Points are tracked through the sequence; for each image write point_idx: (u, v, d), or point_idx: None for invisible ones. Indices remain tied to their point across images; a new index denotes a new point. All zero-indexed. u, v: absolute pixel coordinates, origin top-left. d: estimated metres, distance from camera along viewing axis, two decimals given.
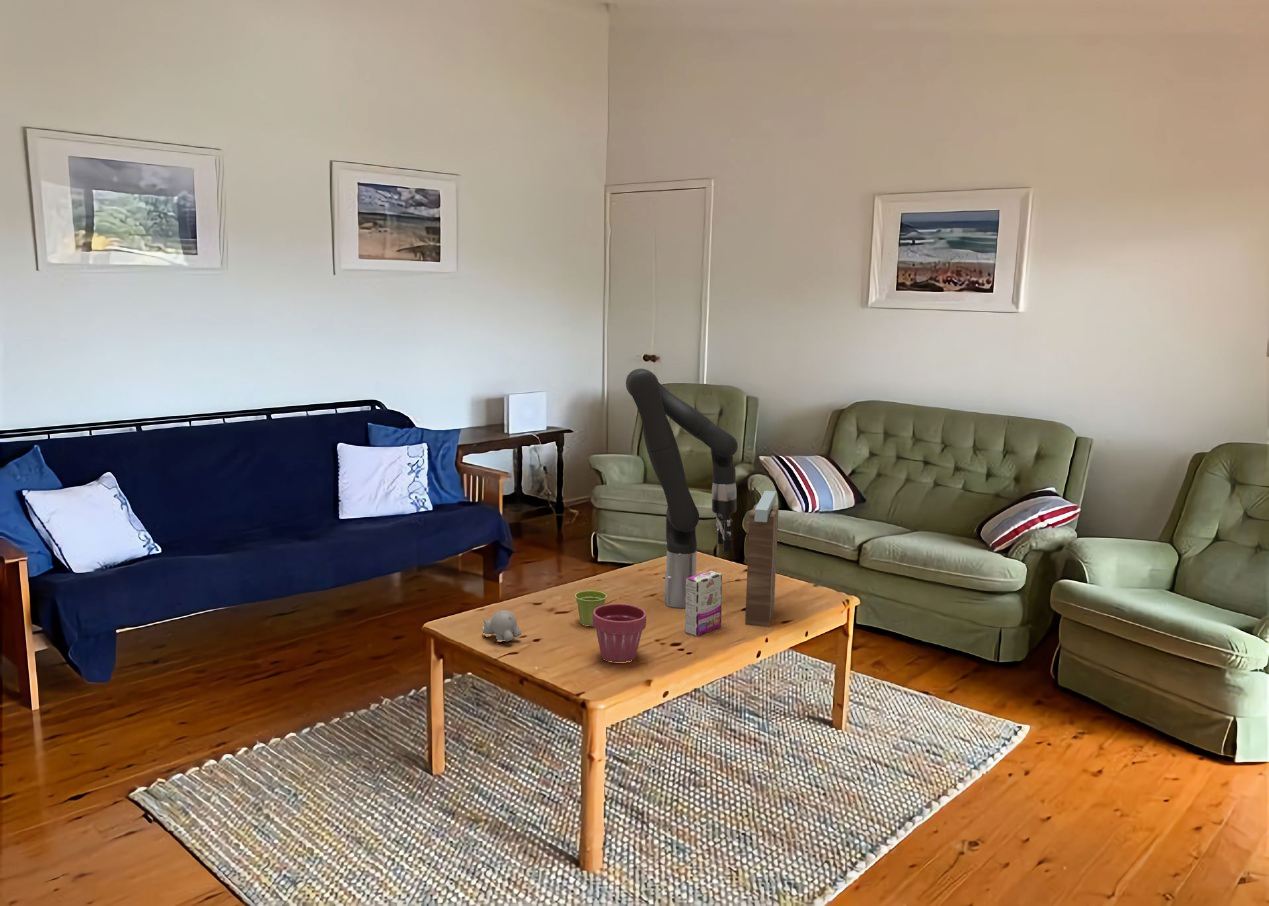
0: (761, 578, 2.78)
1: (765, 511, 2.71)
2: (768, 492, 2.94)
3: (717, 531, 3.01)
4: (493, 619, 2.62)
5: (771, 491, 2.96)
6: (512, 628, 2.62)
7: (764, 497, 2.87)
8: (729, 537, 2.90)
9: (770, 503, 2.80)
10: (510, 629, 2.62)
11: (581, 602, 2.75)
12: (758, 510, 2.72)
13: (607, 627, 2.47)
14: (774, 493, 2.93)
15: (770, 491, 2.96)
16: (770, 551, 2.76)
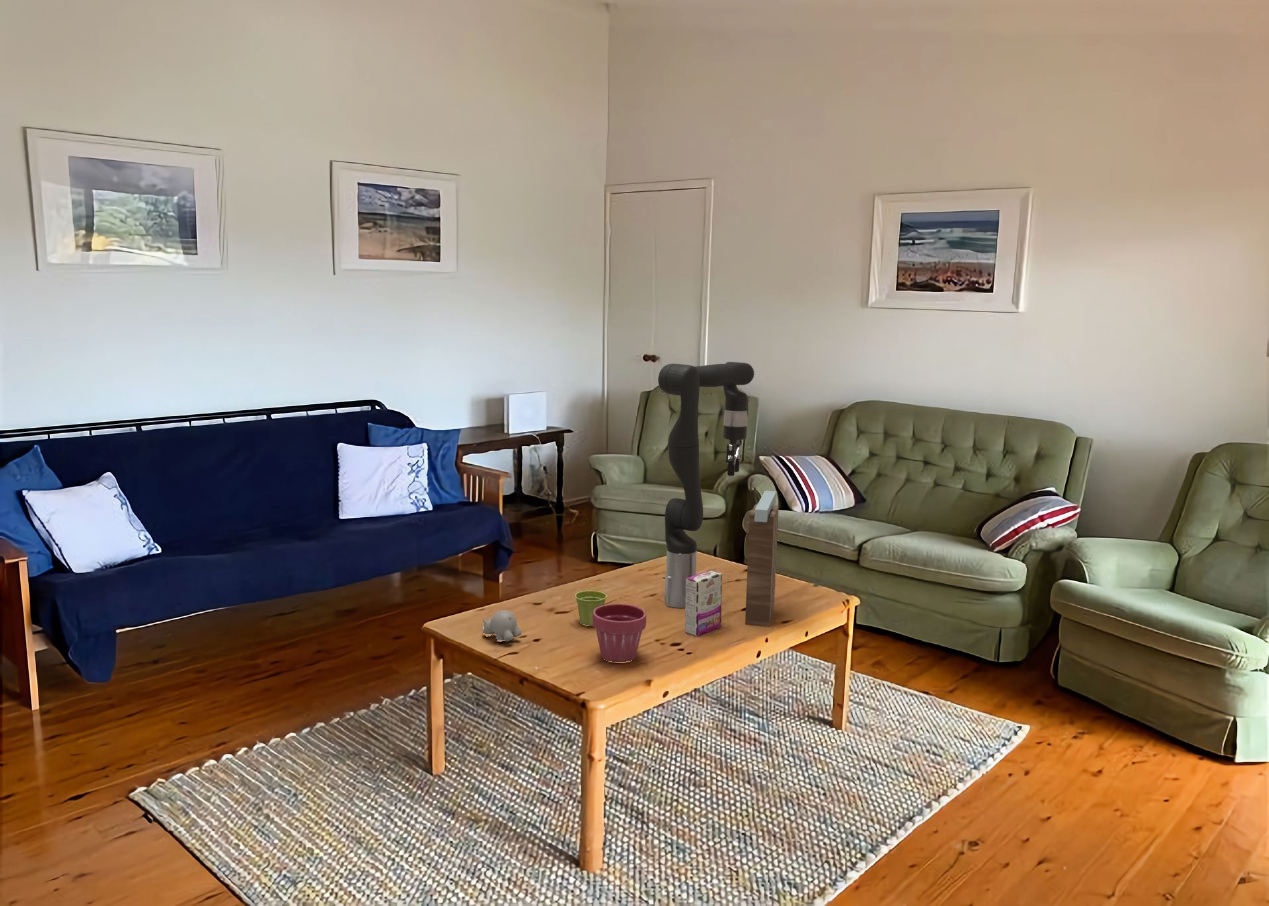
0: (761, 578, 2.78)
1: (765, 511, 2.71)
2: (768, 492, 2.94)
3: (734, 463, 3.06)
4: (493, 619, 2.62)
5: (771, 491, 2.96)
6: (511, 628, 2.62)
7: (764, 497, 2.87)
8: None
9: (770, 503, 2.80)
10: (510, 629, 2.62)
11: (581, 602, 2.75)
12: (758, 510, 2.72)
13: (607, 627, 2.47)
14: (774, 493, 2.93)
15: (770, 491, 2.96)
16: (770, 551, 2.76)
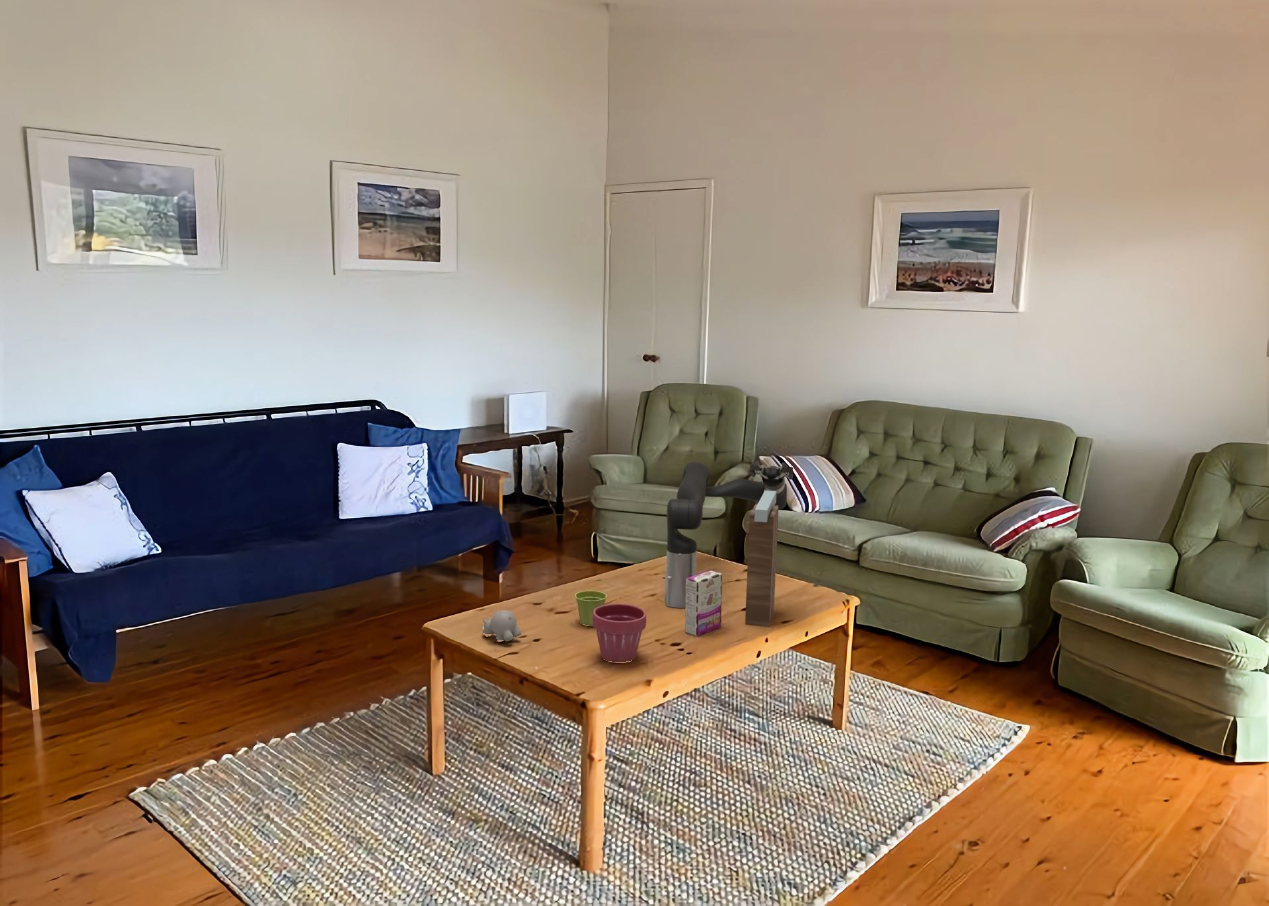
0: (761, 578, 2.78)
1: (765, 511, 2.71)
2: (768, 492, 2.94)
3: None
4: (493, 619, 2.62)
5: (771, 491, 2.96)
6: (511, 628, 2.62)
7: (764, 497, 2.87)
8: (792, 471, 3.15)
9: (770, 503, 2.80)
10: (510, 629, 2.62)
11: (581, 602, 2.75)
12: (758, 510, 2.72)
13: (607, 627, 2.47)
14: (774, 493, 2.93)
15: (770, 491, 2.96)
16: (770, 551, 2.76)
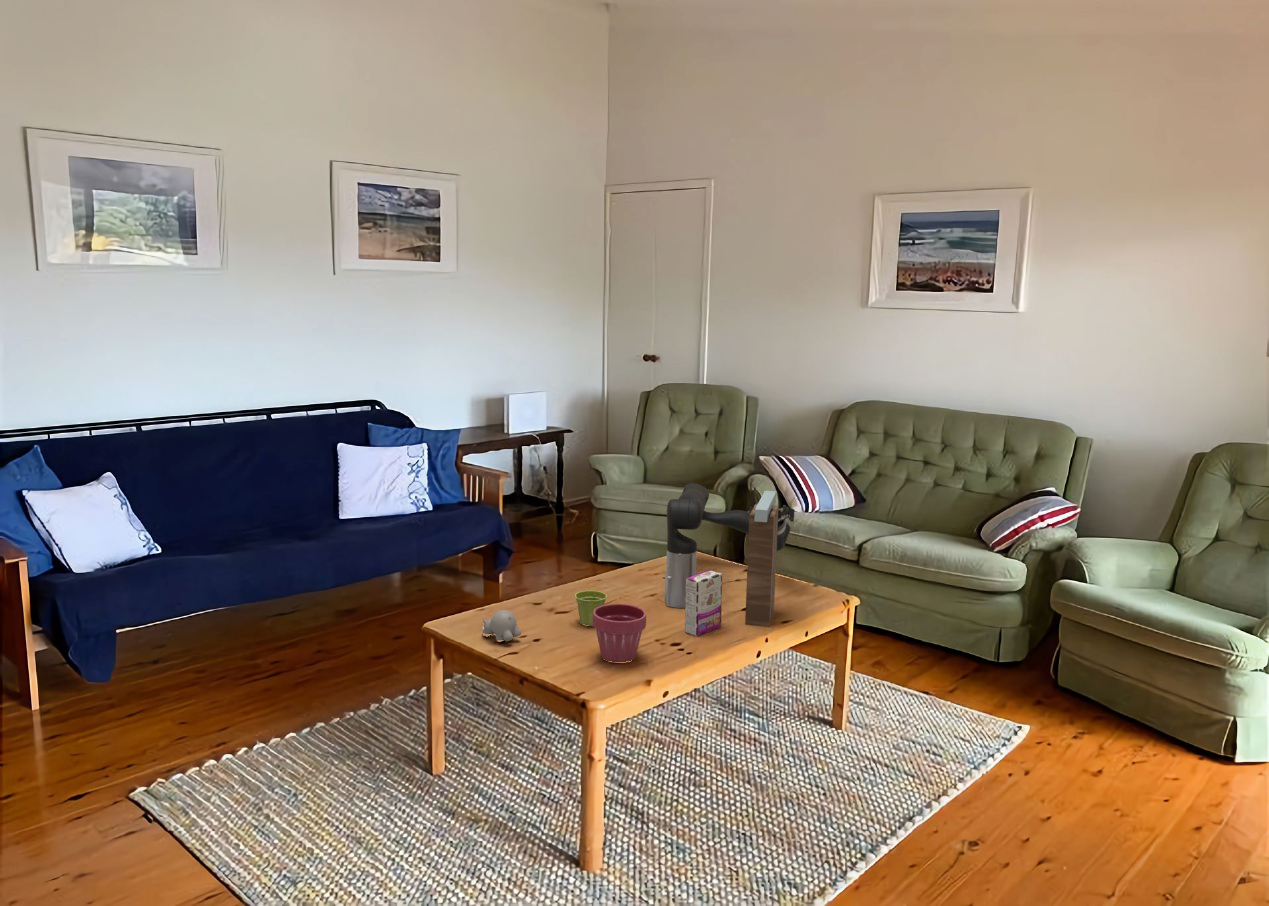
0: (761, 578, 2.78)
1: (765, 511, 2.71)
2: (768, 492, 2.94)
3: None
4: (493, 619, 2.62)
5: (771, 491, 2.96)
6: (511, 628, 2.62)
7: (764, 497, 2.87)
8: (793, 513, 3.03)
9: (770, 503, 2.80)
10: (510, 629, 2.62)
11: (581, 602, 2.75)
12: (758, 510, 2.72)
13: (607, 627, 2.47)
14: (774, 493, 2.93)
15: (770, 491, 2.96)
16: (770, 551, 2.76)
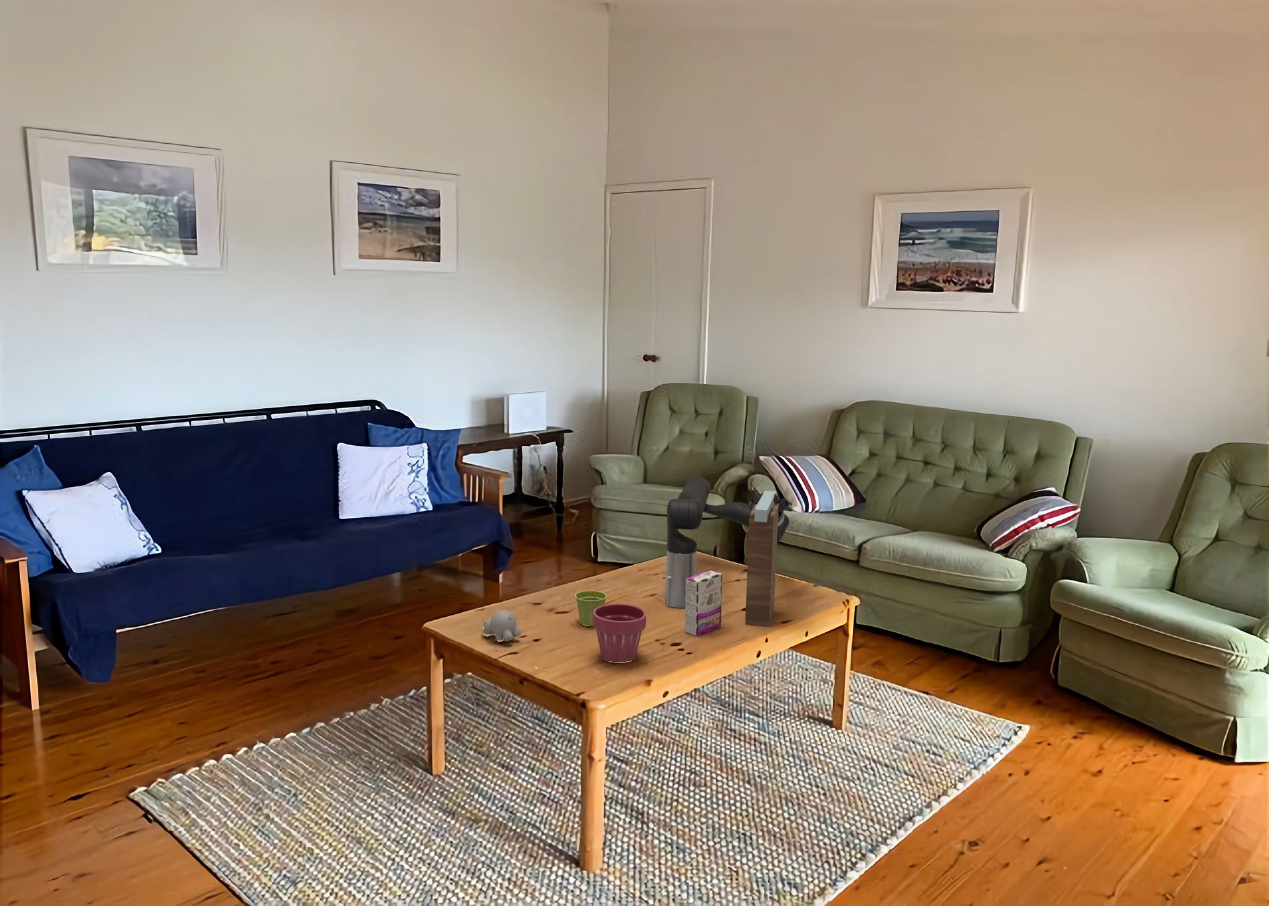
0: (761, 578, 2.78)
1: (765, 511, 2.71)
2: (768, 492, 2.94)
3: None
4: (493, 619, 2.62)
5: (771, 491, 2.96)
6: (511, 628, 2.62)
7: (764, 497, 2.87)
8: (784, 503, 2.93)
9: (770, 503, 2.80)
10: (510, 629, 2.62)
11: (581, 602, 2.75)
12: (758, 510, 2.72)
13: (607, 627, 2.47)
14: (774, 493, 2.93)
15: (770, 491, 2.96)
16: (770, 551, 2.76)
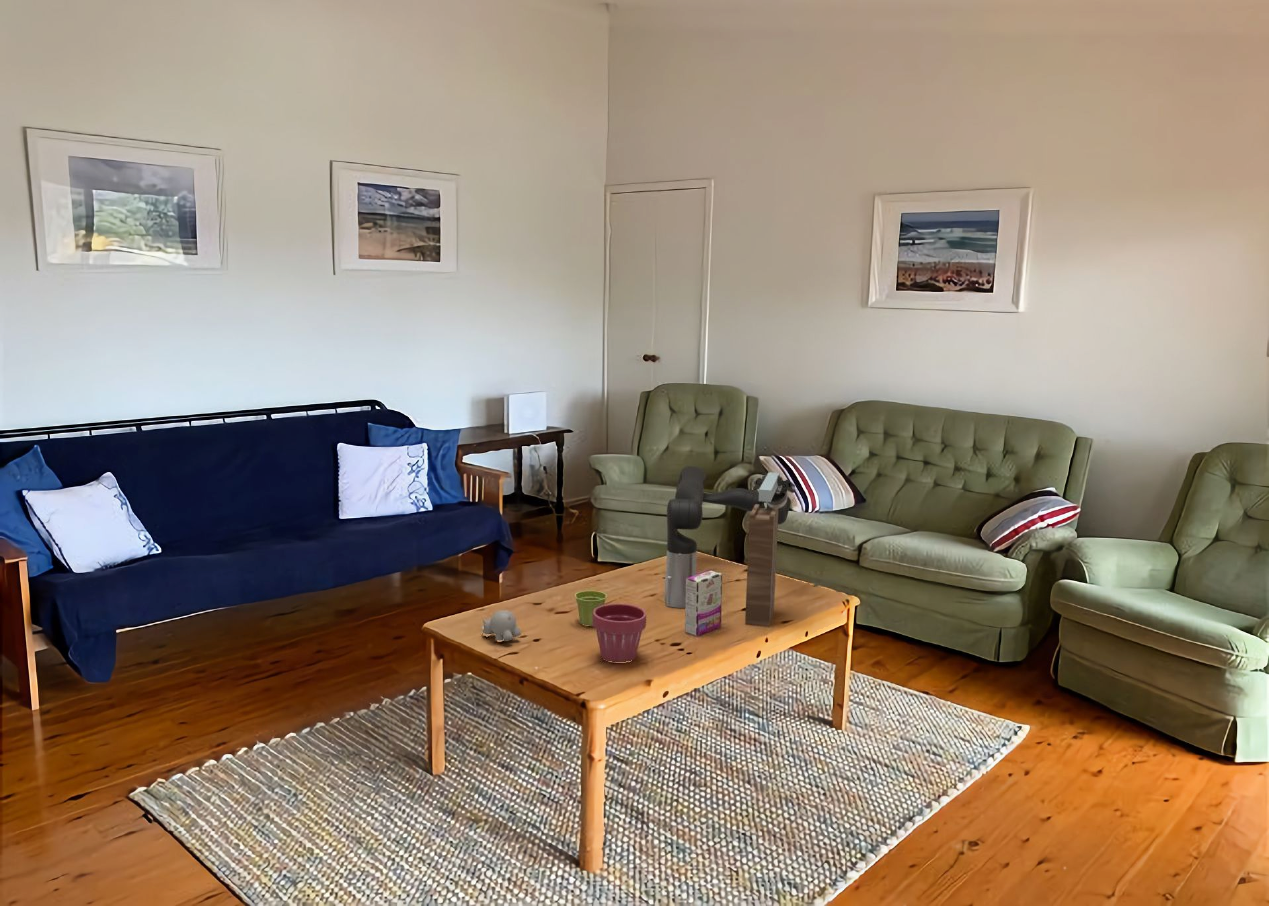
0: (761, 578, 2.78)
1: (769, 491, 2.79)
2: (772, 474, 3.02)
3: None
4: (492, 619, 2.62)
5: (774, 473, 3.04)
6: (511, 628, 2.62)
7: (768, 478, 2.95)
8: (788, 484, 3.01)
9: (774, 484, 2.88)
10: (510, 629, 2.62)
11: (581, 602, 2.75)
12: (762, 490, 2.80)
13: (607, 627, 2.47)
14: (777, 475, 3.01)
15: (773, 473, 3.04)
16: (770, 551, 2.76)
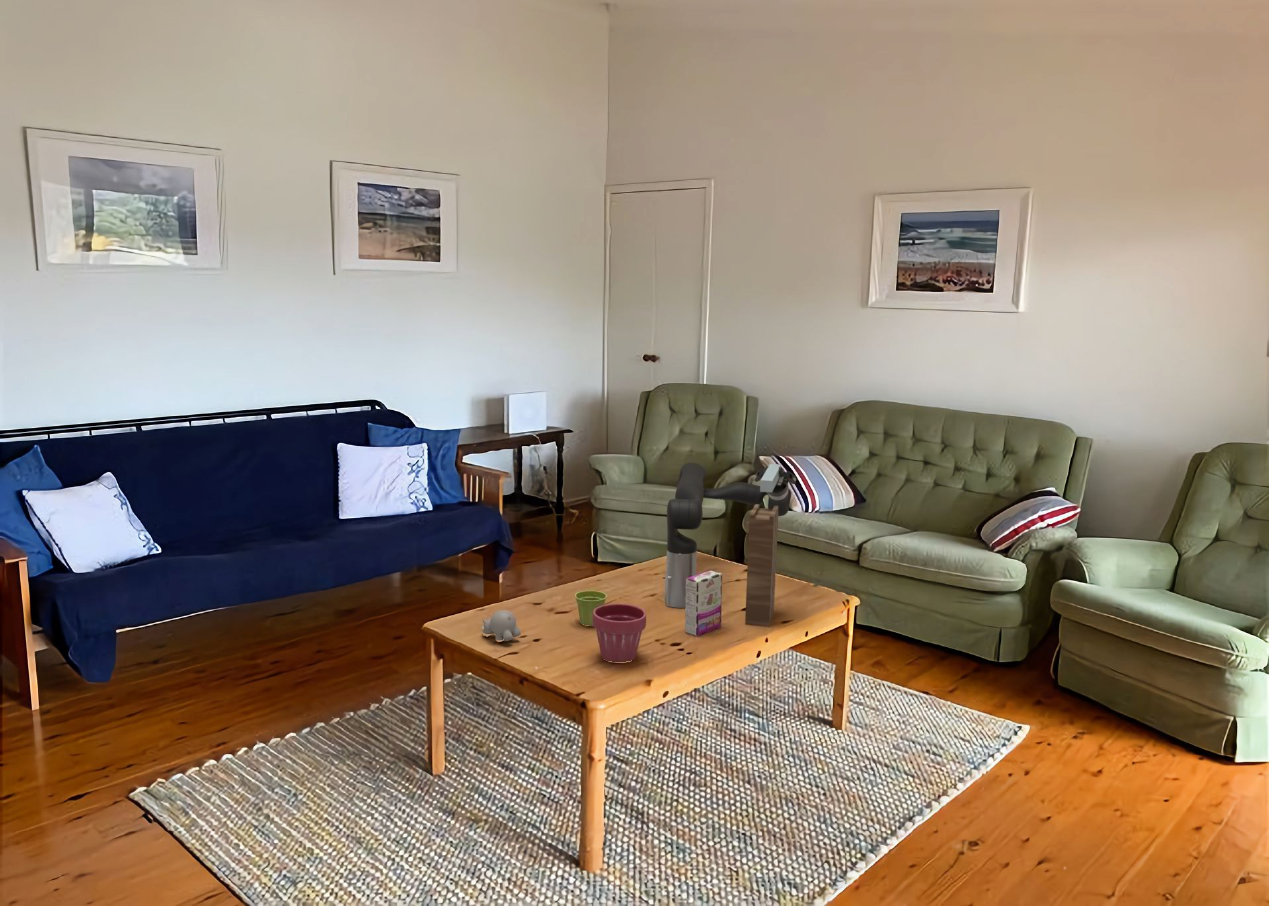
0: (761, 578, 2.78)
1: (770, 482, 2.83)
2: (773, 465, 3.06)
3: None
4: (492, 619, 2.62)
5: (776, 464, 3.07)
6: (511, 628, 2.62)
7: (769, 469, 2.99)
8: (789, 476, 3.05)
9: (775, 475, 2.91)
10: (510, 629, 2.62)
11: (581, 602, 2.75)
12: (764, 481, 2.83)
13: (607, 627, 2.47)
14: (779, 466, 3.04)
15: (775, 464, 3.07)
16: (770, 551, 2.76)
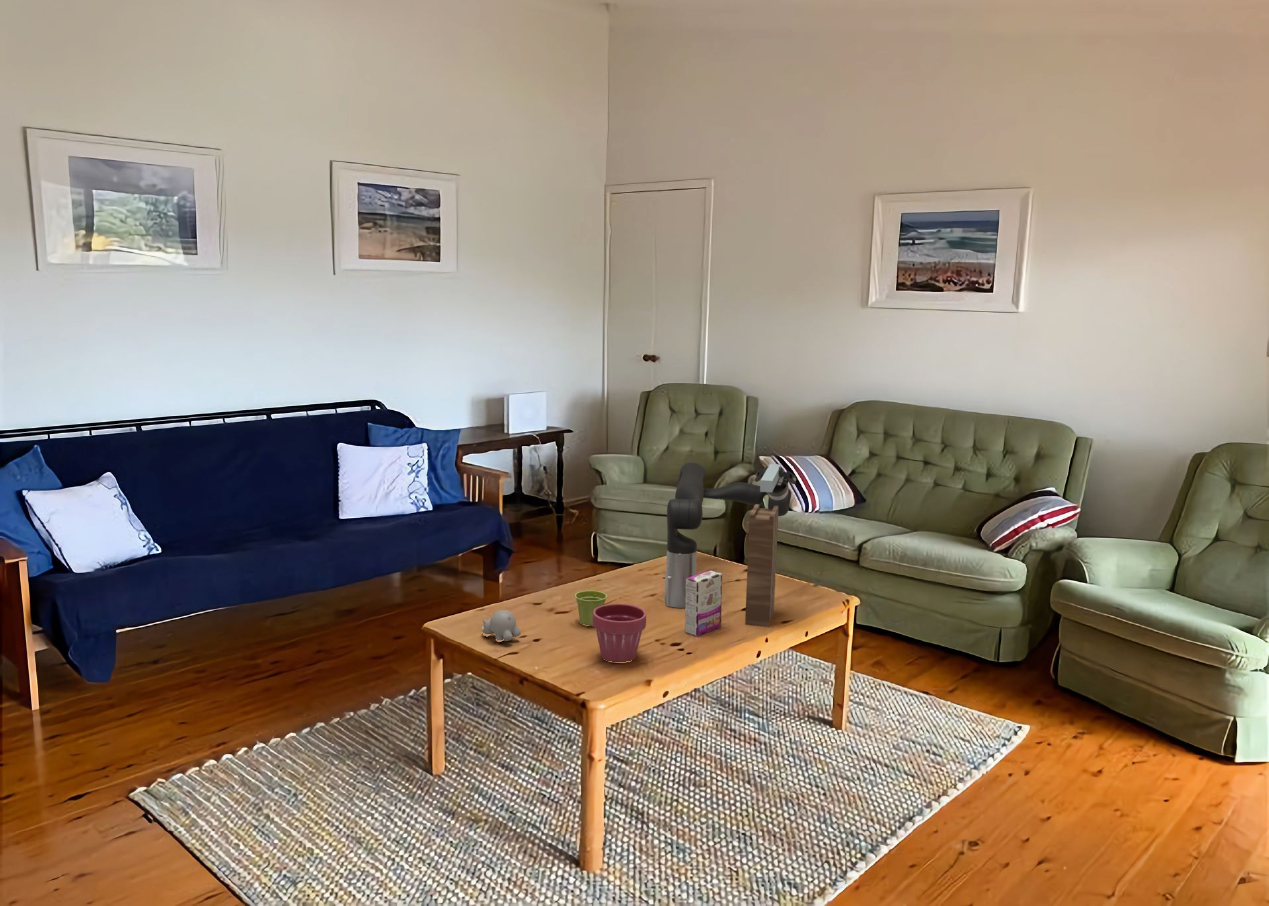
0: (761, 578, 2.78)
1: (770, 482, 2.83)
2: (773, 465, 3.06)
3: None
4: (492, 619, 2.62)
5: (776, 464, 3.07)
6: (511, 628, 2.62)
7: (769, 469, 2.99)
8: (789, 476, 3.05)
9: (775, 475, 2.91)
10: (510, 629, 2.62)
11: (581, 602, 2.75)
12: (764, 481, 2.83)
13: (607, 627, 2.47)
14: (779, 466, 3.04)
15: (775, 464, 3.07)
16: (770, 551, 2.76)
